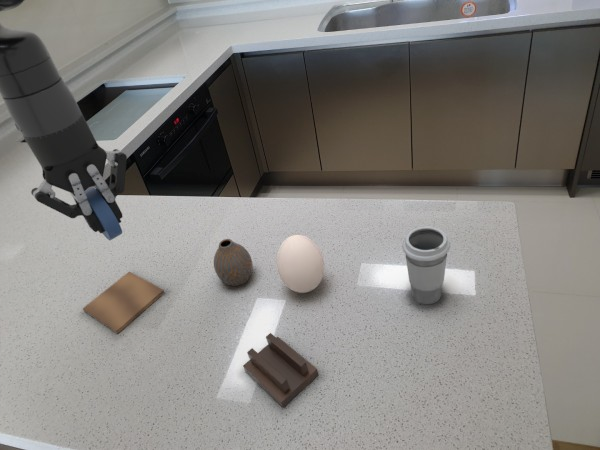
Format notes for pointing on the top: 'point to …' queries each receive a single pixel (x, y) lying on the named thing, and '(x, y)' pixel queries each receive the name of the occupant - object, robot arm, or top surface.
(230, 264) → the vase
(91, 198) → the disc
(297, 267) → the egg
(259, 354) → the rack
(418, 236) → the cup
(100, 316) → the plate
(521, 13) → the top surface
